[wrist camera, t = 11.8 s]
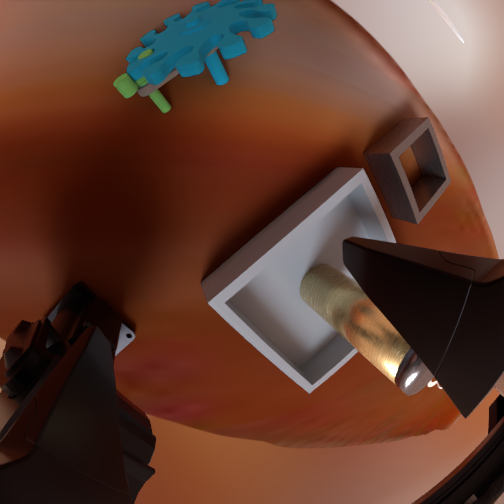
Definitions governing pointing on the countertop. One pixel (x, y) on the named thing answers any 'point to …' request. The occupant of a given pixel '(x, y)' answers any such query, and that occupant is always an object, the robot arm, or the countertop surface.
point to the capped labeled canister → (363, 326)
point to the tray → (297, 276)
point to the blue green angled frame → (194, 46)
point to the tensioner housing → (393, 175)
